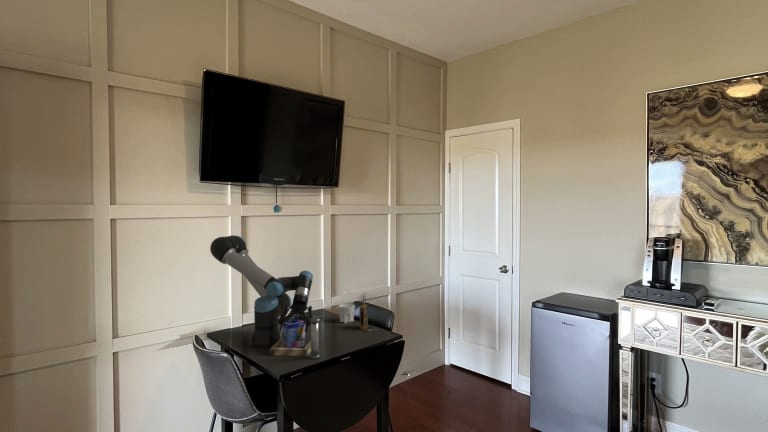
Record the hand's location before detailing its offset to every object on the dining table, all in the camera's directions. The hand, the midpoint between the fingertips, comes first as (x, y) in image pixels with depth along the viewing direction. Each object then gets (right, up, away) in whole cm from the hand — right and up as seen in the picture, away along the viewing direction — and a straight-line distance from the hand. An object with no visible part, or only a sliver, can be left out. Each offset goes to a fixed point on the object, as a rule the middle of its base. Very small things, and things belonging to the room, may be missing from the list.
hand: (292, 337), depth 199 cm
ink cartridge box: (0, -6, +3) cm, 6 cm away
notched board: (0, -7, +3) cm, 8 cm away
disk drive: (-3, -7, +59) cm, 60 cm away
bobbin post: (+12, -7, -8) cm, 16 cm away
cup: (+22, -6, +53) cm, 58 cm away
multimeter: (+36, -7, +38) cm, 53 cm away
